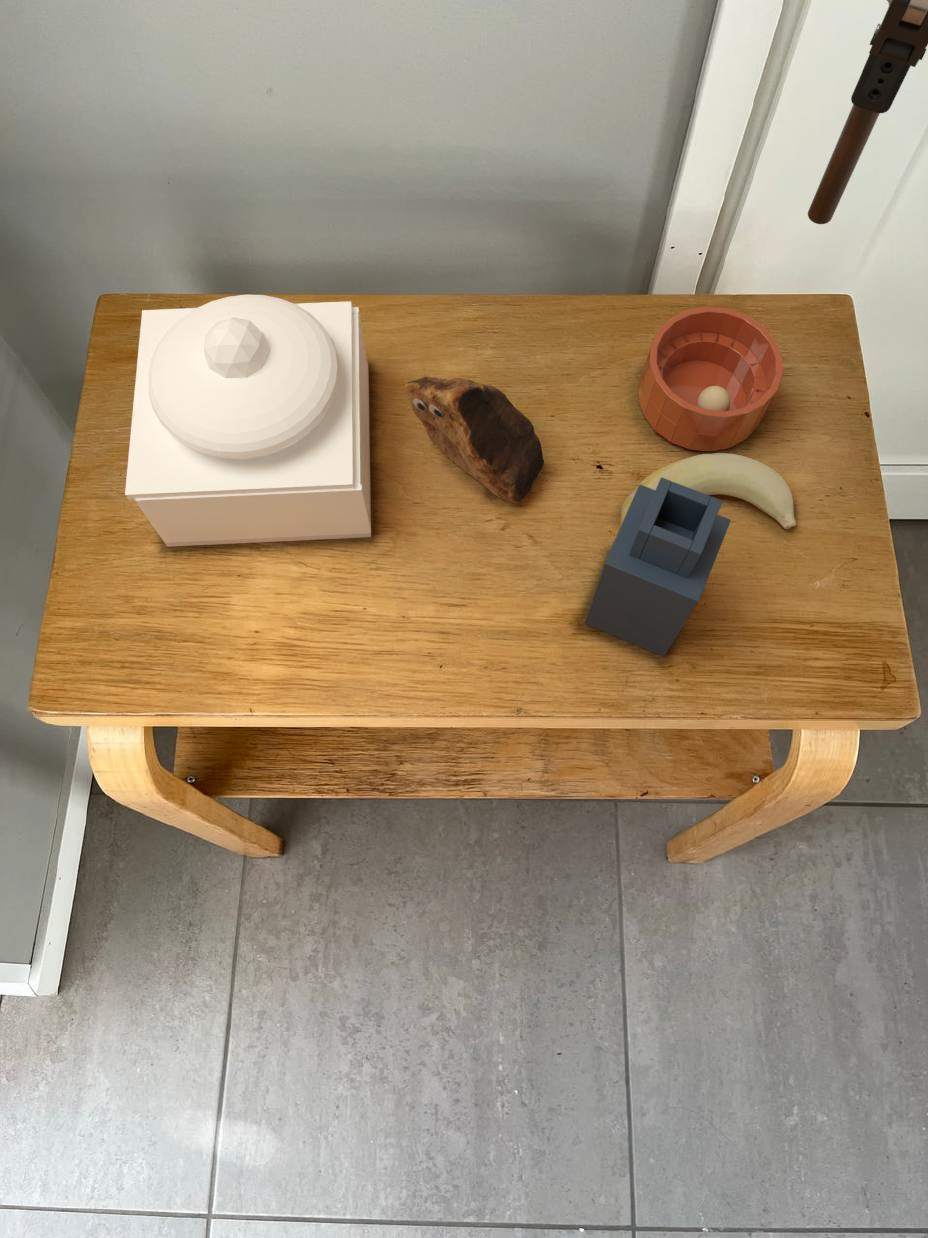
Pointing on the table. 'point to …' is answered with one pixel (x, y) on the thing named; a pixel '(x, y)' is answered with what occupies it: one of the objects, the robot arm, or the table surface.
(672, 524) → the holder
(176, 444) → the white lidded box
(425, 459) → the table surface
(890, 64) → the robot arm
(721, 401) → the ball
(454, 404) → the decorative rock
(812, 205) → the stick
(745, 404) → the bowl
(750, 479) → the fruit
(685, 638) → the table surface
